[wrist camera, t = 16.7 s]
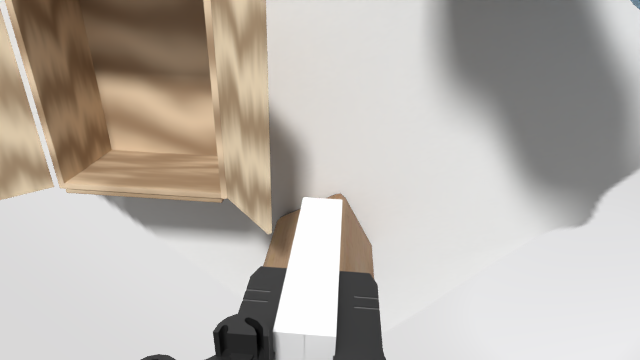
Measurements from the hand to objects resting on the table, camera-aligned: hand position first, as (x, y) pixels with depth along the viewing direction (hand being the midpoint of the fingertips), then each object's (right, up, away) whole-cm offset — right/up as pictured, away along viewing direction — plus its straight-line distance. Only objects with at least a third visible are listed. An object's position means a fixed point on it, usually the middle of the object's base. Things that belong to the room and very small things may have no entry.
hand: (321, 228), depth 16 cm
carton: (-18, +14, +31) cm, 38 cm away
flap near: (-9, +9, +21) cm, 25 cm away
